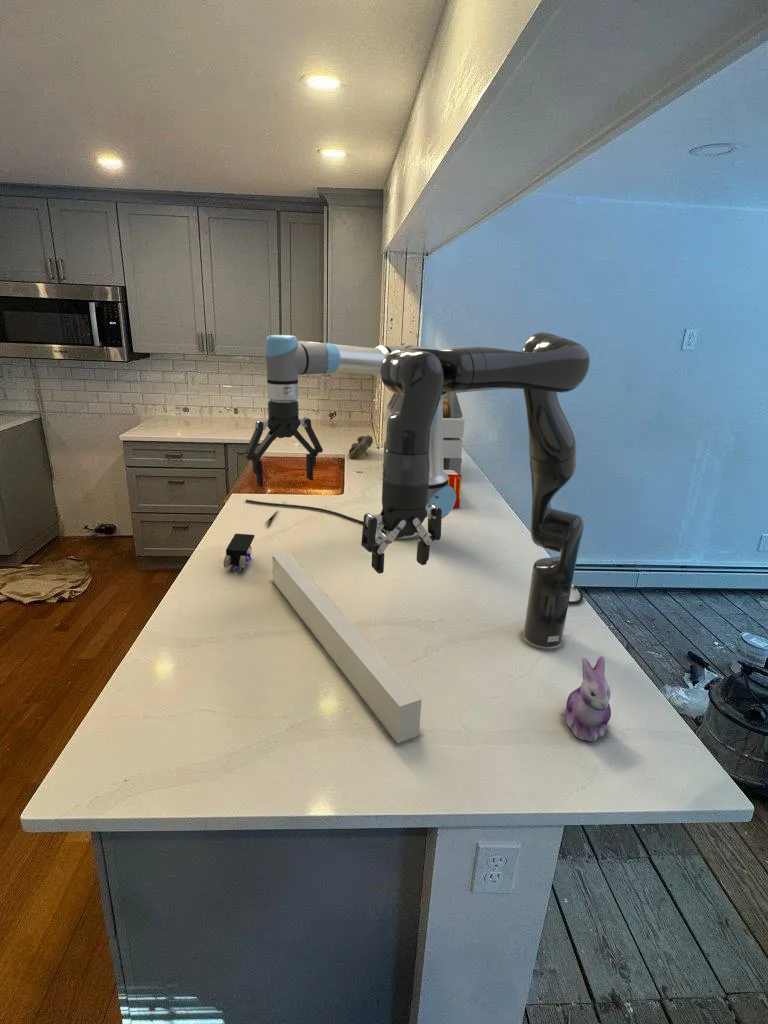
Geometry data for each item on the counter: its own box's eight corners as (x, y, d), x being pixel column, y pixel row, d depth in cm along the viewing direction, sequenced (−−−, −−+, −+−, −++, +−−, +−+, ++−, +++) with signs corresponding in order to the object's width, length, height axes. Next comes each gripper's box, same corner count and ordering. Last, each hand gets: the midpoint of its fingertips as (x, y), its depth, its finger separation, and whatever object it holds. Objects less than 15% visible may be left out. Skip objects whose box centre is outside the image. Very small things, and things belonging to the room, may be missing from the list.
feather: (284, 505, 226) (287, 501, 226) (267, 528, 200) (269, 524, 199) (281, 503, 226) (283, 499, 225) (262, 526, 199) (265, 521, 199)
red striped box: (454, 466, 253) (465, 475, 223) (452, 495, 255) (463, 509, 226) (427, 465, 252) (435, 474, 223) (425, 494, 255) (433, 508, 226)
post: (273, 581, 162) (272, 554, 159) (288, 578, 164) (288, 552, 161) (397, 743, 104) (399, 706, 101) (419, 735, 106) (421, 699, 103)
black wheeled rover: (246, 579, 165) (256, 553, 178) (245, 557, 161) (255, 532, 175) (223, 578, 165) (235, 552, 178) (221, 556, 161) (233, 531, 175)
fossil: (348, 441, 313) (370, 426, 308) (359, 455, 316) (380, 440, 311) (342, 455, 293) (365, 439, 288) (353, 469, 296) (376, 454, 291)
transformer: (382, 463, 289) (386, 382, 275) (445, 464, 293) (451, 384, 279) (390, 482, 257) (394, 392, 243) (460, 483, 261) (468, 394, 247)
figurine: (589, 751, 104) (604, 682, 99) (550, 716, 112) (561, 651, 107) (625, 735, 108) (641, 669, 103) (585, 703, 116) (597, 640, 111)
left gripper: (237, 405, 132) (242, 491, 139) (335, 400, 143) (335, 480, 151) (228, 400, 138) (234, 483, 146) (323, 395, 150) (323, 472, 157)
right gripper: (378, 488, 86) (374, 584, 91) (455, 478, 92) (446, 569, 98) (356, 475, 92) (353, 565, 97) (429, 467, 99) (423, 552, 104)
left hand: (285, 482), depth 148 cm, fingers open, 13 cm apart
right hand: (400, 567), depth 98 cm, fingers open, 8 cm apart
